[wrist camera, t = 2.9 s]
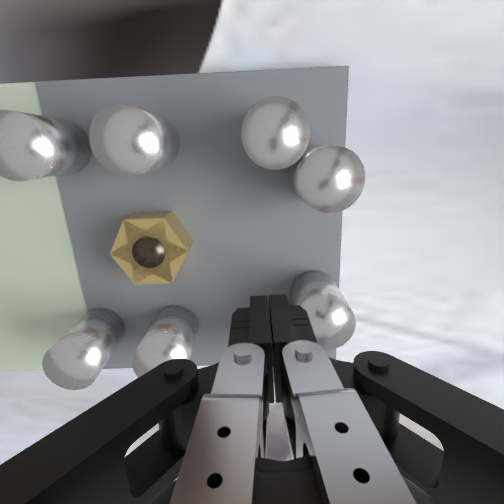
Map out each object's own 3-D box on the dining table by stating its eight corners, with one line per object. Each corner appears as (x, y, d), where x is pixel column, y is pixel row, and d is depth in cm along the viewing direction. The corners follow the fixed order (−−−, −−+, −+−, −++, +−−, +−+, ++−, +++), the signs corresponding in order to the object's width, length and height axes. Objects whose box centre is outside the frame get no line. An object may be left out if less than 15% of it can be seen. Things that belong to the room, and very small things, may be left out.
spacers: (31, 119, 21) (-33, 111, 16) (343, 104, 21) (370, 91, 16) (86, 347, 27) (49, 390, 22) (334, 338, 26) (352, 380, 22)
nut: (118, 213, 23) (102, 220, 21) (191, 210, 23) (184, 217, 21) (128, 272, 25) (115, 285, 22) (197, 269, 24) (191, 282, 22)
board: (-131, 93, 22) (-148, 91, 21) (344, 69, 21) (348, 65, 20) (-28, 366, 28) (-38, 373, 28) (332, 353, 28) (335, 361, 27)
